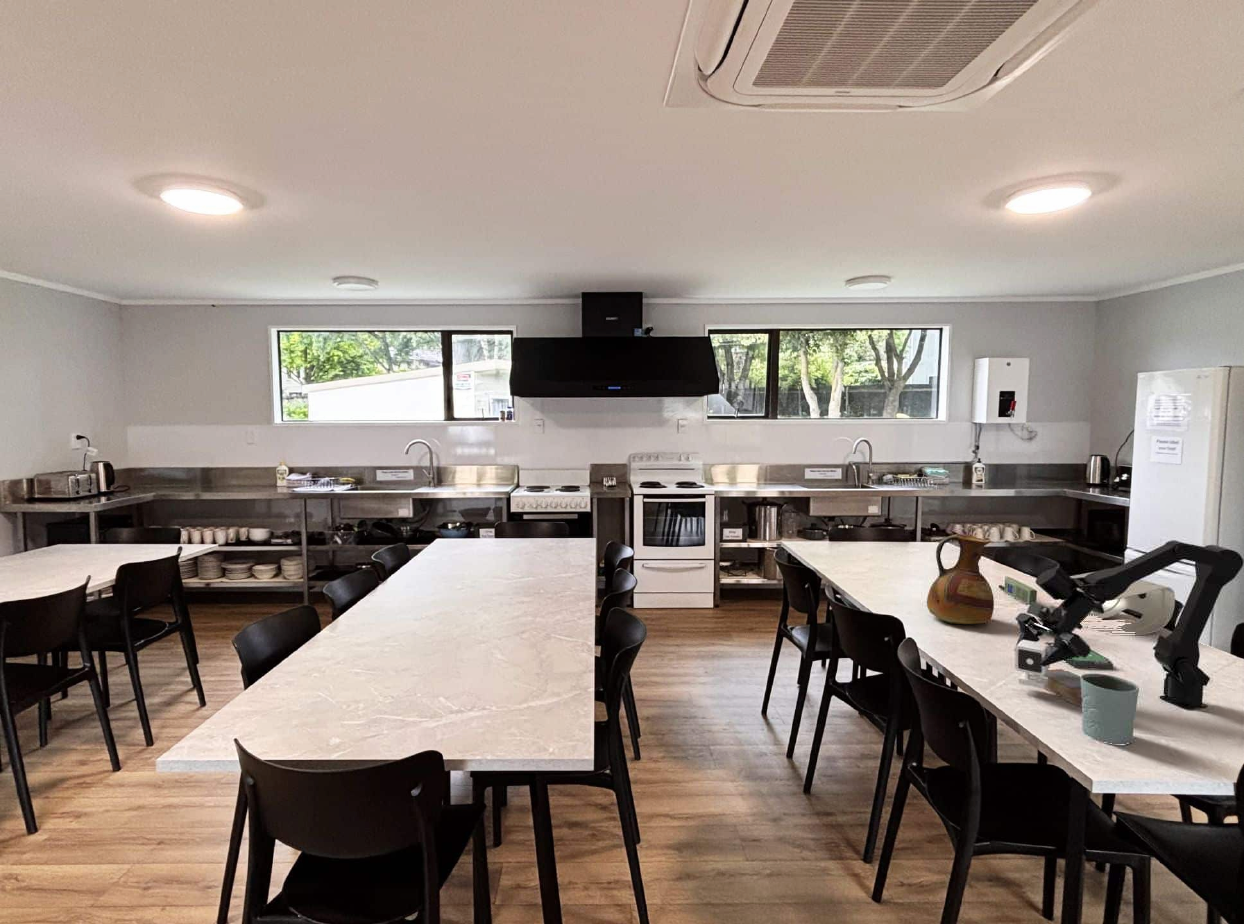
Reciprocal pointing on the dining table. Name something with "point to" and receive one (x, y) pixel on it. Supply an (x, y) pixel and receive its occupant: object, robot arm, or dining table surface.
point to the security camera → (1031, 663)
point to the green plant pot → (1108, 707)
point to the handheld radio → (1019, 591)
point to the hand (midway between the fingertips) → (1028, 658)
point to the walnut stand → (1064, 685)
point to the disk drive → (1088, 660)
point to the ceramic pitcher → (962, 585)
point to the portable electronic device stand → (1139, 607)
